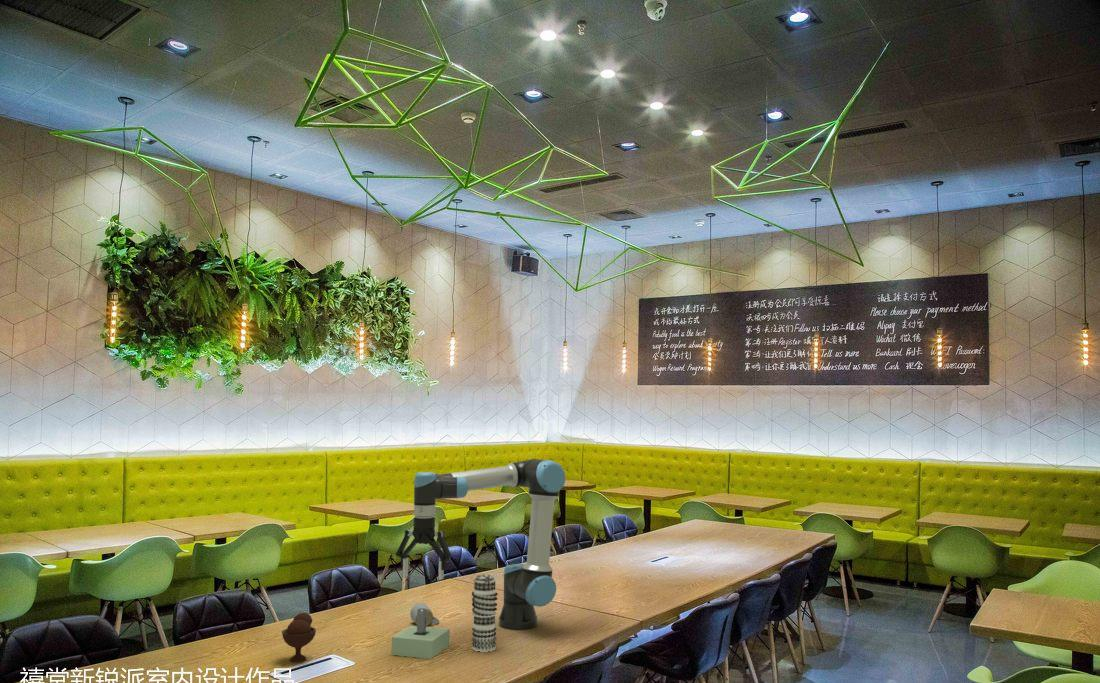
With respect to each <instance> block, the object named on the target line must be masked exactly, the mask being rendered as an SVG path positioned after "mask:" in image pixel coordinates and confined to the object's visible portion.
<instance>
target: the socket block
mask: <svg viewBox="0 0 1100 683" xmlns="http://www.w3.org/2000/svg"><path fill="white" fill-rule="evenodd" d="M450 630H451V629H450V628H442V627H441V628H440V627H431V626H426V635H417V625H410V626H408V627H407V628H405V629H403V630H401V631H400V632H398V633H397V634H394V635H393V636H392V637H391V651H390V652H391V654H390V655H391V656H394V655H399V656H398V657H404V656H407V657H406V658H413V657H416V659H423V658H424V659H425V660H433V659H434V658H435V656H438V654H440V653H441V652H443V651H444V650H445V649H446V648H449V646H450V640H451V638H450V633H451V631H450ZM424 659H423V660H424Z"/></svg>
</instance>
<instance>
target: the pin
mask: <svg viewBox="0 0 1100 683" xmlns="http://www.w3.org/2000/svg"><path fill="white" fill-rule="evenodd" d="M426 615H427V609H424V608H421V609H417V624H416V626H417V635H426V627H427V626H426Z"/></svg>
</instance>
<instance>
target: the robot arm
mask: <svg viewBox="0 0 1100 683" xmlns="http://www.w3.org/2000/svg"><path fill="white" fill-rule="evenodd" d="M565 483H566V473H565V470H564V468H563V467H562V465H561V464H559V463H558V462H556V461H553V460H550V459H538V458H531V459H526V460H522V461H521V460H520V461H515V462H510V463H508V464H507V465H505V466H504V465H503V466H496V467H490V468H489V467H488V468H481V469H472V470H471V469H470V470H465V471H457V472H450V473H440V474H438V473H435V472H432V471H431V472H430V471H429V472H427V471H425V472H424V471H423V472H417V473H415V476H414V483H413V516H414V518H413V525H412V526H413V530H412V529H406V530H404V537H403V539H402V541H401V542H400V545H399V547H398V548H397V551H396V553H395V556H396V557H399V558H400V567H401V568H402V579H404V578H405V579H406V578H407V577H409V557H408V555H409V554H410V553H411V552H412V550H413V549H414V548H415V547H416V545H417V544H418V545H419V544H420V545H423V544H424V545H429V546H430V547H431V548H432V549H433V551H434V553H436V555H437V556H438V558H439V559H440V560H438V581H441V580H444V579H445V578H444V577H445V576H444V573H445V572H444V571H446V569H447V561H448V560H449V559H451V558H452V554H451V550H450V549H449V546H448V544H447V542H446V540H445V535H444V531H443V530H441V531H436V529H435V527H436V518H435V516H436V500H440V499H441V500H442V499H443V500H445V499H446V500H447V499H461V498H465V497H466V496H467V494H468V492H469V491H476V490H484V489H491V488H492V489H493V488H497V487H498V488H501V487H506V486H507V487H508V486H509V487H510V488H518V487H519V488H529V489H528V496H529V497H530V498H531V508H530V518H529V519H530V520H529V531H528V532H529V533H528V544H527V555H526V562H525V563H515V564H507V565H505V567H504V568H503V569H504V570H503V605H502V608H501V611H500V614H499V617H498V625H499V627H502V628H504V629H509V630H528V629H531V628H535V627H536V626H537V625H538V616H537V613H536V609H535V607H540V608H541V607H544V606H547V605H549V604H550V603H551V602H552V601H553V600H554V598H555V596H556V593H557V584H556V581H555V580H554V578H553V568H552V566H551V565H550V557H551V554H550V553H551V545H552V543H551V542H552V532H553V519H554V507H555V501H556V500H557V499H558V498H559V494H560V491H561V490H562V488H563V487H564V485H566V484H565ZM435 536H436V539H437V540H438V541H437V540H436V539H435ZM410 537H413V539H412V540H411V542H410V544H409V545H408V546H407V544H408V542H409V539H410ZM437 542H438V543H439V545H438V543H437ZM406 546H407V548H406Z"/></svg>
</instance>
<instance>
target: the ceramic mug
mask: <svg viewBox="0 0 1100 683" xmlns="http://www.w3.org/2000/svg"><path fill="white" fill-rule="evenodd" d="M421 608H424V609H427V615H426V627H430V626H431V624H433V625H438V624H440V619H438V618H437V617H435V616H434V615H433V612H432V610H431V609H430V608H429V606H428V605H427V604H426V603H423V602H419V603H416V604H415V605H414V606H413V605H412V608H411V609H410V614H409V615H410V618H411V620H412V621H413V622H414V623H415V624H416V625H417V609H421Z"/></svg>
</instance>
